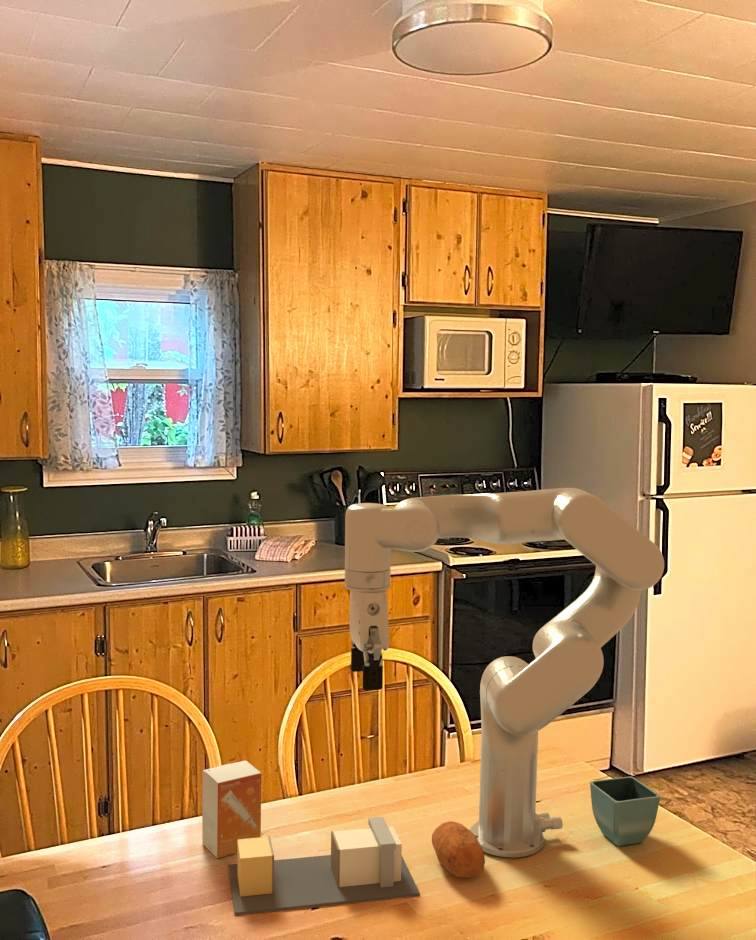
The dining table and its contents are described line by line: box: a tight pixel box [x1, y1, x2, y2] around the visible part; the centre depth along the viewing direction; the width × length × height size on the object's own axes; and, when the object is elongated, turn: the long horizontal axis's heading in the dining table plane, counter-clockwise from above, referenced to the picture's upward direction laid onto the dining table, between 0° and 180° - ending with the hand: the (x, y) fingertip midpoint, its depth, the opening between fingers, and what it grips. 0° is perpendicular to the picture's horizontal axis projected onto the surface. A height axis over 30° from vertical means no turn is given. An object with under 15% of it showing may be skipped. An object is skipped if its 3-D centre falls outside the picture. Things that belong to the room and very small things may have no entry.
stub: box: [236, 836, 275, 897], centre depth 148 cm, size 5×6×6 cm
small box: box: [201, 760, 262, 859], centre depth 161 cm, size 8×6×13 cm
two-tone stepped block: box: [330, 816, 403, 887], centre depth 152 cm, size 10×9×7 cm
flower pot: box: [589, 775, 661, 847], centre depth 165 cm, size 9×9×9 cm
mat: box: [228, 854, 421, 916], centre depth 150 cm, size 28×14×1 cm, turn 102°
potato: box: [431, 821, 486, 878], centre depth 155 cm, size 7×13×7 cm, turn 11°
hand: (366, 679), depth 160 cm, fingers open, 9 cm apart
